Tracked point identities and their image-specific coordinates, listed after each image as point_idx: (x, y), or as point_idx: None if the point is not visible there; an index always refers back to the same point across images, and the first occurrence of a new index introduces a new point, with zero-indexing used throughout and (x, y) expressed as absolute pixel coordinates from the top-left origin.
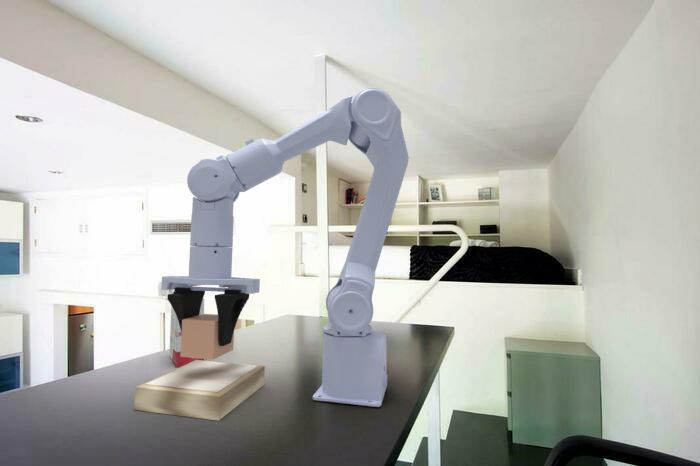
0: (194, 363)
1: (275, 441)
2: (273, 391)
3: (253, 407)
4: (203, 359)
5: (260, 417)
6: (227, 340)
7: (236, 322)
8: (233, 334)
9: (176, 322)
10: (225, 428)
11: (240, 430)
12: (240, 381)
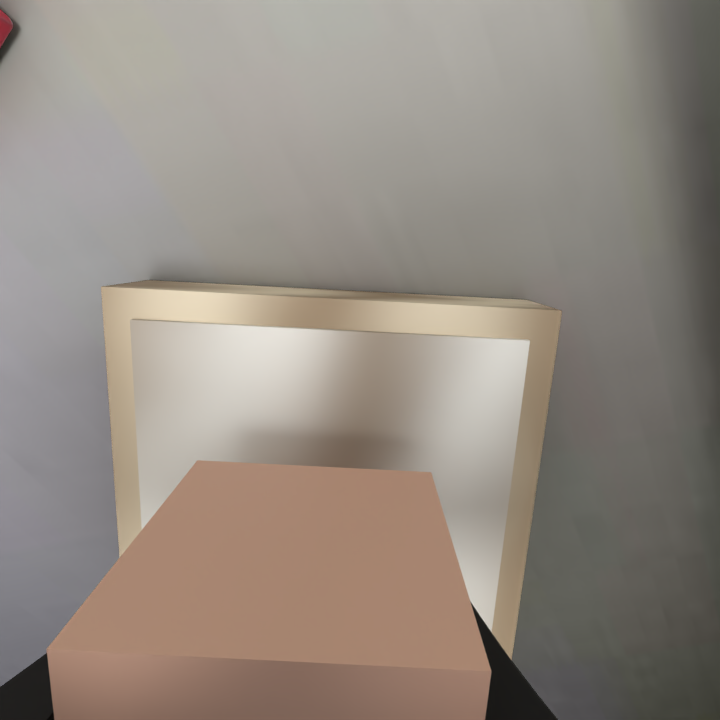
0: (153, 374)
1: (697, 690)
2: (593, 363)
3: (561, 517)
4: (2, 19)
5: (611, 579)
6: None
7: (552, 717)
8: (450, 540)
9: None
10: (527, 655)
11: (577, 657)
12: (521, 544)
